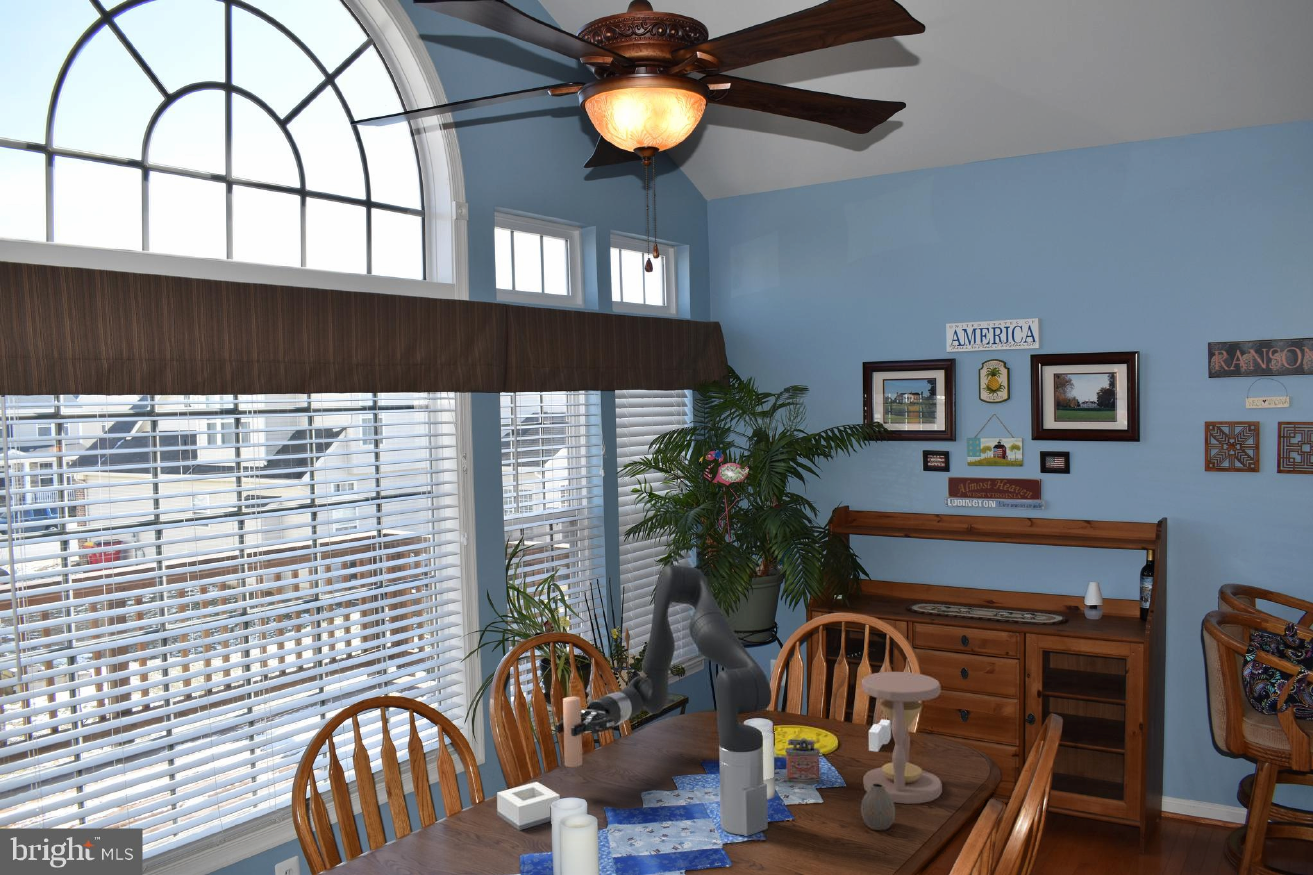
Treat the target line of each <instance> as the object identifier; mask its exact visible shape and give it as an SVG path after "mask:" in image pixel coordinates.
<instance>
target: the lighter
mask: <svg viewBox="0 0 1313 875" xmlns="http://www.w3.org/2000/svg"><path fill="white" fill-rule="evenodd" d="M788 745H794V747H790V748H786V749H785V753H786V758H785V759H786V760H785V761H786V762H785V764H786V771H785V772H786V776H785V782H787V783H789V784H808V785H809V784H820V783H821V776H820V756H819V754H820V750H819V749H818V748H814V740H807V739H806V738H802V739H801V740H798V739H789V740H788ZM797 746H799V747H797ZM809 746H810V747H811V748H810V747H809Z"/></svg>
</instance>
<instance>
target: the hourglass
mask: <svg viewBox="0 0 1313 875" xmlns="http://www.w3.org/2000/svg"><path fill="white" fill-rule="evenodd" d="M941 687H942V686H941V684H940V681H939V680H937V679H936V678H934V677H932V676H928V675H925V674H921V673H917V672H916V673H915V672H909V671H908V672H905V671H883V672H882V671H880V672H874V673H870V674H867V675H866V676H864V677H863V678H862V679H861V689H862V691H863V692H864V693H865V694H866V695H867V696H870V697H873V698H877V699H880V700H881V701H880V702H879V704H880V707H881V710H882V712H883V713H884V715H885V716H886V717H887V720H890V722H891V733H892V736H893V740H894V748H893V751H892V757H891V758H892V760H891V762H888V763H886V764H883V765H882V767H877V768H873V769H871V770H868V771H867V772H866V773H865V774H864V776H863V788H864V790H865V791H866V793H867V792H868V791H869V789H870V788H871V786H872V784H874V783H880V784H882V785H883V786H884V788H885V790H886V791H887V792H888V794H889V795H890V796H891V798H892V800H893V802H894V804H895V803H896V804H905V805H907V804H908V805H909V804H911V805H912V804H913V805H914V804H923V803H928V802H932V801H934V800H936V799H939V798H940V795H941V794H942V793H943V784H942V781H941V779H940V778H939V777H937V776H936V775H935V774H933V773H932V772H928V771H926V770H923V769H922V768H921V767H920V766H918V765H915V764H913V763H910V749H911V748H910V746H911V737H910V734H909V730H908V729H909V727H910V726H911V725H912V724H913V722H914V720H916V718H917V716H918V715H919V714H920V712H921V711H922V708H923V704H922V703H921V702H922V701H930V700H932V699H936V698H937V697H939V695H940V694H941V692H942V689H941Z"/></svg>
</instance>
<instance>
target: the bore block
mask: <svg viewBox="0 0 1313 875" xmlns="http://www.w3.org/2000/svg"><path fill="white" fill-rule="evenodd" d="M560 798H561V797H560V794H558V793H557V792H555V791H554V790H552V789H551V788H548V787H547V786H545V785H543V784H542V783H539V781H534V782H530V783H526V784H523V785H520V786H516V787H513V788H510V789H505V790H502V791H499V792H496V801H497V803H496V806H497V808H496V810H497V812H496V813H497V816H498V817H500V819H502V820H504V821H505V822H506V823H508V824H509V825H511V826H512V827H513V828H515V829H516V830H518V831H521V830H525V829H528V828H532V827H535V826H539V825H542V824H545V823H548V822H551V818H550V807H551V804H552V802H554V801H557V800H559V799H560ZM560 800H561V799H560Z"/></svg>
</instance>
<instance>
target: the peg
mask: <svg viewBox="0 0 1313 875" xmlns="http://www.w3.org/2000/svg"><path fill="white" fill-rule="evenodd" d="M581 708H582V706H581V697H579V696H567V697H564V698H562V710H563V711H562V713H563V714H562V715H563V720H564V732H563V746H564V747H563V748H564V749H563V750H564V752H563V753H564V755H563V756H564V766H565V767H567V768H568V767H569V768H575V767H577V768H578V767H580V766H582V765H583V746H582V734H579V735H577V736H572V735H571V728H572V726H574V725H577V724H579V723H581V711H582V710H581Z"/></svg>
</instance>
